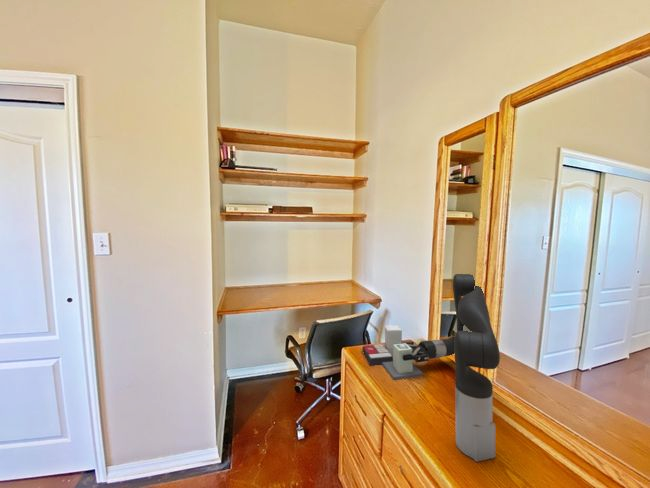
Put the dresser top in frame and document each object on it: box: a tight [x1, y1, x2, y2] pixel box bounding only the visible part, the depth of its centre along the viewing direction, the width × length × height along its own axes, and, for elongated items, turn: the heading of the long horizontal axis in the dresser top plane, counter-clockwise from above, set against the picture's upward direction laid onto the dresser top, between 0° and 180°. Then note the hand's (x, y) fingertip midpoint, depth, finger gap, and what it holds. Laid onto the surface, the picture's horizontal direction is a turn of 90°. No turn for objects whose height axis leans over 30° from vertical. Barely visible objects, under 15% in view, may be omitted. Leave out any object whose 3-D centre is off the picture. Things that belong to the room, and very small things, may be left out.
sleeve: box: [392, 342, 413, 374], centre depth 117 cm, size 6×6×10 cm
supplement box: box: [384, 324, 403, 356], centre depth 136 cm, size 7×7×13 cm
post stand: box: [381, 344, 424, 381], centre depth 119 cm, size 14×13×12 cm
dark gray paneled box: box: [362, 343, 393, 367], centre depth 131 cm, size 11×4×15 cm
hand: (398, 353), depth 116 cm, fingers open, 8 cm apart
